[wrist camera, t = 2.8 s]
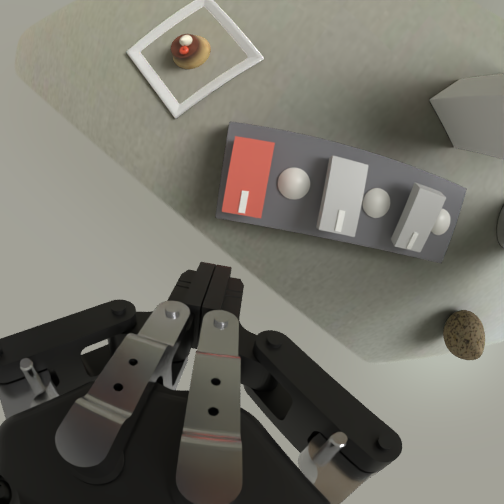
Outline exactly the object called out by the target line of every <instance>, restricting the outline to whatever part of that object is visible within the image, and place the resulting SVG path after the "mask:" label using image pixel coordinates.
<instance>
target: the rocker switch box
mask: <svg viewBox="0 0 504 504" xmlns="http://www.w3.org/2000/svg"><path fill="white" fill-rule="evenodd" d="M235 136H237V137H244V138H250V139H256V140H262V141H268V142H273V143H275V145H274V150H273V156H272V161H271V167H270V172H269V178H268V183H267V189H266V194H265V200H264V205H263V211H262V216H261V218H255V217H250V216H244V215H239V214H233V213H227V212H222V207H223V201H224V195H225V189H226V183H227V178H228V172H229V166H230V161H231V156H232V150H233V145H234V140H235ZM331 156H337V157H341V158H345V159H348V160H352V161H356V162H359V163H363V164H366V165H368V172H367V178H366V183H365V189H364V194H363V200H362V205H361V210H360V215H359V220H358V224H357V229H356V233H355V237H352V236H347V235H342V234H337V233H333V232H328V231H323V230H319V229H317V228H316V226H317V221H318V216H319V211H320V206H321V201H322V196H323V190H324V185H325V180H326V174H327V168H328V162H329V157H331ZM414 183H418V184H421V185H424V186H427V187H429V188H432V189H435V190H437V191H440V192H441V193H442V194H443V195H444V196H445V197H446V200H445V202H444V204H443V207H442V209H441V211H440V213H439V216H438V218H437V220H436V222H435V224H434V226H433V228H432V230H431V232H430V234H429V236H428V238H427V240H426V242H425V244H424V246H423V248H422V250H421V252H416V251H412V250H408V249H404V248H399V247H395V246H394V244H393V243H392V241H391V237H392V235H393V233H394V231H395V229H396V226H397V224H398V222H399V219H400V217H401V215H402V212H403V210H404V208H405V205H406V203H407V200H408V198H409V195H410V193H411V190H412V188H413V185H414ZM466 190H467V188H464V187H462V186H460V185H458V184H456V183H453V182H451V181H449V180H446V179H444V178H442V177H439V176H437V175H434V174H432V173H429V172H427V171H424V170H422V169H419V168H416V167H414V166H411V165H408V164H405V163H403V162H400V161H397V160H394V159H391V158H388V157H385V156H382V155H379V154H375V153H372V152H369V151H366V150H362V149H359V148H355V147H352V146H348V145H345V144H341V143H337V142H333V141H329V140H325V139H321V138H317V137H313V136H308V135H304V134H299V133H295V132H290V131H285V130H280V129H274V128H269V127H263V126H257V125H251V124H244V123H237V122H229V128H228V134H227V140H226V147H225V153H224V160H223V166H222V173H221V180H220V187H219V194H218V202H217V209H216V217H215V218H220V219H225V220H231V221H237V222H243V223H248V224H254V225H259V226H265V227H270V228H275V229H281V230H286V231H291V232H297V233H302V234H307V235H312V236H317V237H322V238H327V239H332V240H337V241H342V242H347V243H352V244H356V245H361V246H366V247H371V248H375V249H380V250H384V251H389V252H394V253H398V254H403V255H407V256H411V257H416V258H420V259H425V260H429V261H433V262H437V263H442V261H443V258H444V256H445V253H446V251H447V248H448V246H449V243H450V240H451V237H452V235H453V232H454V229H455V226H456V223H457V220H458V217H459V214H460V211H461V207H462V204H463V201H464V197H465V193H466Z"/></svg>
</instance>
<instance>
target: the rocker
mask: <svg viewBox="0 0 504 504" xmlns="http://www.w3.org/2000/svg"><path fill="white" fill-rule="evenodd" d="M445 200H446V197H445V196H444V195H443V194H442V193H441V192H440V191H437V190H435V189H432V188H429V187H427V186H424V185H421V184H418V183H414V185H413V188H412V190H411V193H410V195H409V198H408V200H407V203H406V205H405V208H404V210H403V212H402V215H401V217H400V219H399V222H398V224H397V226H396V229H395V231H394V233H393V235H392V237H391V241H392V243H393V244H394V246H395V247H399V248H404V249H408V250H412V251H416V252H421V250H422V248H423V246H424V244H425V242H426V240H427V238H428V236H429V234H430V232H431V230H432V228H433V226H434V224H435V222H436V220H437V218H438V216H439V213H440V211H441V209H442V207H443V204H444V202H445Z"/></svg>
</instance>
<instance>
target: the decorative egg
mask: <svg viewBox="0 0 504 504" xmlns="http://www.w3.org/2000/svg"><path fill="white" fill-rule="evenodd" d="M443 336H444V341H445V344H446V346H447V348H448V349H449V351H450V352H451V353H452V354H453V355H455V356H457V357H458V358H461V359H465V360H475V359H478V358H479V357H480V356H481V355H482V353H483V350H484V345H485V332H484V328H483V325H482V323H481V321H480V319H479V318H478V317H477V316H476V315H475V314H474V313H472V312H470V311H466V310H461V311H457V312H455V313H453V314H452V315H451V316H450V317H449V318H448V319H447V321H446V323H445V326H444V330H443Z"/></svg>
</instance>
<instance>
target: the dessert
mask: <svg viewBox="0 0 504 504" xmlns="http://www.w3.org/2000/svg"><path fill="white" fill-rule="evenodd" d="M202 7H205V8H206V9H207V10H208V11H209V12H210V13H211V14H212V16H213V17H214V18H215V19H216V20H217V21H218V22H219V23H220V24H221V25H222V26H223V28H224V29H225V30H226V31H227V32H228V33H229V34H230V36H231V37H232V38H233V39H234V40H235V41H236V43H237V44H238V45H239V46H240V47H241V49H242V50H243V51H244V52H245V53H246V55H247V56H248V58H247V59H245V60H244V61H242V62H240V63H239V64H237V65H235V66H234V67H232V68H231V69H229V70H228V71H226V72H225V73H223V74H221V75H220V76H219V77H217V78H216V79H214V80H213V81H211V82H210V83H208V84H207V85H205V86H204V87H203V88H201V89H200V90H198V91H197V92H196V93H194V94H193V95H192V96H190V97H189V98H188V99H186V100H185V101H184V102H182V103H181V104H179V103H178V102H177V100H176V99H175V98H174V96H173V95H172V94H171V92H170V91H169V90H168V88H167V87H166V85H165V84H164V83H163V81H162V80H161V79H160V77H159V76H158V75H157V73H156V72H155V71H154V70H153V68H152V67H151V66H150V64H149V63H148V62H147V60H146V59H145V58H144V56H143V55H142V54H141V51H142V50H143V49H144V48H145V47H147V46H148V45H149V44H150V43H152V42H153V41H154V40H155V39H157V38H158V37H159V36H161V35H162V34H163V33H165V32H166V31H167V30H169V29H170V28H171V27H173V26H174V25H176V24H177V23H179V22H180V21H181V20H183V19H184V18H186V17H187V16H189V15H191V14H192V13H194V12H195V11H197V10H198V9H200V8H202ZM126 53H127V54H128V55H129V57H130V58H131V59H132V61H133V62H134V63H135V65H136V66H137V67H138V69H139V70H140V72H141V73H142V74H143V76H144V77H145V78H146V80H147V81H148V82H149V84H150V85H151V86H152V88H153V89H154V90H155V92H156V93H157V94H158V96H159V97H160V99H161V100H162V101H163V103H164V104H165V105H166V107H167V108H168V109H169V111H170V112H171V114H172V115H173V116H174V118H178V117H179V116H180V115H181V114H183V113H184V112H185V111H187V110H188V109H189V108H191V107H192V106H193V105H195V104H196V103H197V102H199V101H200V100H201V99H203V98H204V97H206V96H207V95H209V94H210V93H211V92H213V91H214V90H216V89H217V88H219V87H220V86H222V85H223V84H225V83H226V82H228V81H229V80H231V79H232V78H234V77H235V76H237V75H239V74H240V73H242V72H243V71H245V70H247V69H248V68H250V67H252V66H253V65H255V64H257V63H258V62H260V61H262V60H264V57H263V56H262V55H261V53H260V52H259V51H258V50H257V48H256V47H255V46H254V45H253V44H252V42H251V41H250V40H249V39H248V38H247V36H246V35H245V34H244V33H243V32H242V31H241V29H240V28H239V27H238V26H237V25H236V24H235V23H234V22H233V20H232V19H231V18H230V17H229V16H228V15H227V14H226V13H225V12H224V11H223V10H222V9H221V8H220V7H219V5H218V4H217V3H216V2H215V1H214V0H194V1H192V2H191V3H189V4H188V5H186V6H185V7H183V8H182V9H180V10H179V11H177V12H176V13H174V14H173V15H171V16H170V17H169V18H167V19H166V20H164V21H163V22H162V23H160V24H159V25H158V26H156V27H155V28H154V29H152V30H151V31H150V32H149V33H147V34H146V35H145V36H144V37H142V38H141V39H140V40H139V41H137V42H136V43H135V44H134V45H133V46H132V47H130V48H129V49H128V50H127V51H126ZM171 53H172V56H173V60H174V62H175V64H176V65H177V66H179V67H181V68H184V69H193V68H196V67H199V66H200V65H202V64H203V63H204V62H205V61H206V60H207V59H208V57H209V55H210V44H209V42H208V41H207V40H206V39H205V38H203V37H201V36H196V35H191V34H183V35H180V36H179V37H177V38H176V39H175V40H174V41H173V42H172V45H171Z"/></svg>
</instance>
